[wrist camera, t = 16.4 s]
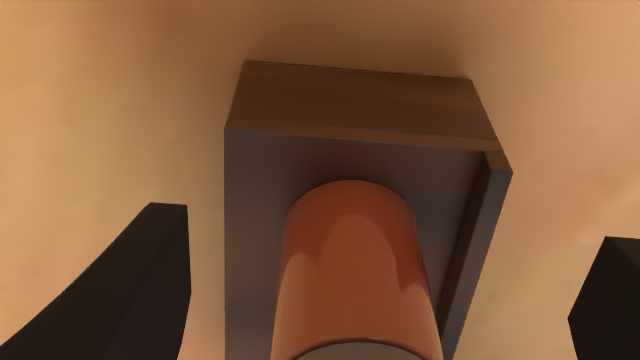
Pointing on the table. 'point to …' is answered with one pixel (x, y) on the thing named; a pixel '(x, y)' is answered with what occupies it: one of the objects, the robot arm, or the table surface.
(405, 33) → the table surface
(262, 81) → the shelf
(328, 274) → the pepper shaker
